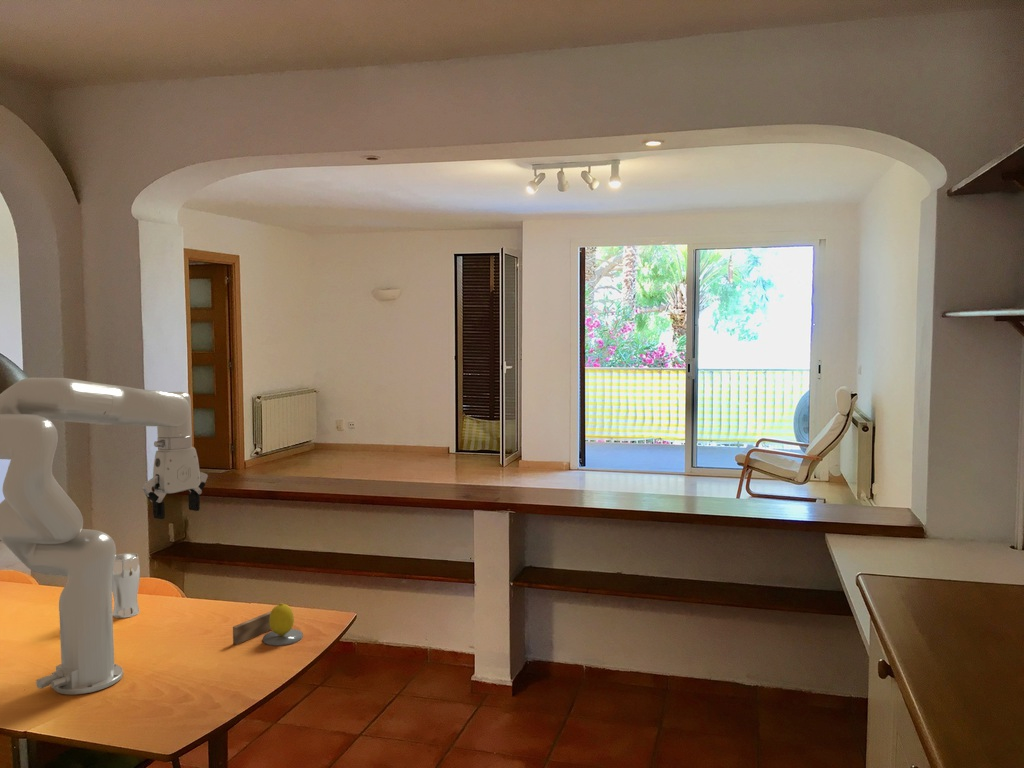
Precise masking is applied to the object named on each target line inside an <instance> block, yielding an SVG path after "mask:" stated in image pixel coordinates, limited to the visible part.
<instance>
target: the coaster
mask: <svg viewBox="0 0 1024 768" xmlns="http://www.w3.org/2000/svg"><path fill="white" fill-rule="evenodd" d="M303 634H304V633H303V632H302V631H301V630H299V629H294V628H292V629H291V630H290V631H289V632H288V633H286V634H285V635H284V636H280V635H279V634H276V633H274V632H273V631H272V630H271V631H270V632H269V631H268V632H266V633H265V634H264V635H263V637H262V642H263V643H264V644H265V645H268V646H273V647H275V646H276V647H279V646H280V647H281V646H282V647H283V646H287V645H293V644H295V643H298V642H299V641H301V640H302V639H303Z"/></svg>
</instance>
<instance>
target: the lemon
mask: <svg viewBox="0 0 1024 768" xmlns="http://www.w3.org/2000/svg"><path fill="white" fill-rule="evenodd" d="M270 611H271V613H270V619H269V623H270V628H271V629H272V630H271V632H272V631H273V632H274V633H276V634H279V635H280V636H284V635H285V634H286V633H288V632H289V631H290V630H291V629H293V626H294V623H295V616H294V612H293V610H292V608H291V607H290V606H289V605H287V604H284V603H283V602H279V604H277V605H275V606H274V607H273V608H272V609H271V610H270Z"/></svg>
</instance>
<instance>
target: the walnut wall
mask: <svg viewBox="0 0 1024 768" xmlns="http://www.w3.org/2000/svg"><path fill="white" fill-rule="evenodd" d="M271 611H272V610H270V611H268V612H266V613H263V614H261V615H259V616H256V617H253V618H251V619H248V620H247V621H244V622H240V623H239V624H236V625H234V626H233V627H232V643H233V645H236V646H237V645H239V644H242V643H244V642H247V641H249V640H251V639H253V638H255V637H258V636H260V635H263V634H264V633H265V634H266V633H268V632H269V631H272V629H271V628H270V623H269V619H270V613H271Z"/></svg>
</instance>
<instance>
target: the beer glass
mask: <svg viewBox="0 0 1024 768" xmlns="http://www.w3.org/2000/svg"><path fill="white" fill-rule="evenodd" d="M140 577H141V567H140V558H139V554H138V553H135V552H134V553H133V552H124V553H119V554H116V557H115V562H114V568H113V575H112V598H113V609H112V614H113V618H116V619H128V618H132V617H135V616H137V615H139V613H140V607H139V604H138V593H139V588H140V587H139V585H140Z"/></svg>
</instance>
